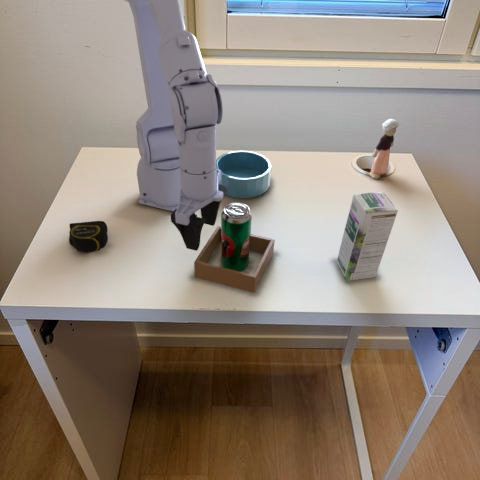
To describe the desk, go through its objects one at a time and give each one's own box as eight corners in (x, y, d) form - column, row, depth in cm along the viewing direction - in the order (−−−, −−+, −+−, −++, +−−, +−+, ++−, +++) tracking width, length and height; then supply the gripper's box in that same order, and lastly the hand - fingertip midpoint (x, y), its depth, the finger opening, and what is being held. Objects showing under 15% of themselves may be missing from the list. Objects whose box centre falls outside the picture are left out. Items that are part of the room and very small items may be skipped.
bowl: (206, 191, 102) (206, 172, 98) (226, 164, 109) (226, 146, 106) (260, 203, 99) (261, 184, 96) (276, 175, 107) (277, 156, 104)
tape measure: (109, 232, 91) (105, 216, 88) (109, 255, 86) (105, 238, 83) (72, 235, 90) (68, 219, 87) (70, 258, 85) (65, 242, 82)
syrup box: (335, 261, 87) (351, 193, 76) (364, 257, 88) (384, 189, 77) (346, 282, 83) (365, 213, 72) (377, 277, 84) (399, 209, 73)
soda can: (246, 276, 83) (248, 220, 74) (218, 272, 84) (217, 216, 75) (251, 258, 87) (254, 203, 78) (224, 254, 87) (224, 199, 78)
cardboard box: (194, 277, 83) (193, 262, 80) (217, 240, 90) (217, 225, 87) (254, 293, 80) (255, 278, 78) (273, 254, 88) (274, 239, 85)
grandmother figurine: (380, 182, 106) (395, 128, 97) (364, 177, 107) (377, 123, 98) (391, 168, 110) (407, 115, 101) (376, 163, 112) (390, 110, 102)
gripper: (204, 194, 67) (206, 266, 77) (237, 149, 77) (236, 218, 87) (159, 184, 69) (167, 256, 79) (198, 141, 78) (201, 210, 88)
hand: (201, 235), depth 83 cm, fingers open, 7 cm apart
